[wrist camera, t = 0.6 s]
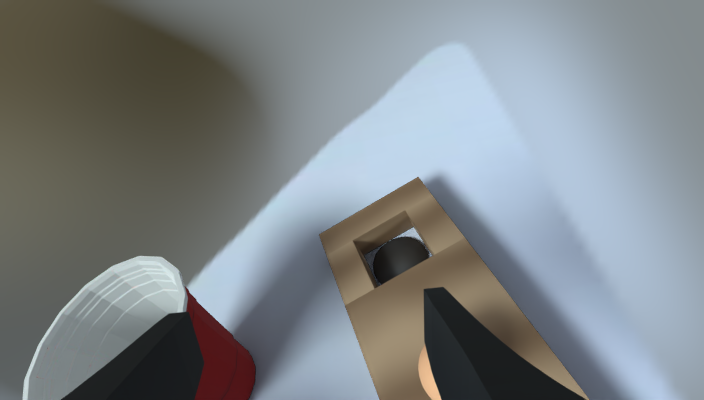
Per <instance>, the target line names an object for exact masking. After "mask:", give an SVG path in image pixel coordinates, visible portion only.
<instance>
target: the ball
mask: <svg viewBox="0 0 704 400" xmlns="http://www.w3.org/2000/svg"><path fill="white" fill-rule="evenodd" d="M418 371H419V377H420V380H421V383H422V386H423V388H424V390H425V391H426V393H427V394H428V396H429V397H430V398H431V399H432V400H442V399H441V397H440V394H439V391H438V388H437V386H436V383H435V380H434V377H433V374H432V371H431V367H430V363H429V359H428V355H427V351H426V346H425V345H424V347H423V349H422V351H421V353H420V357H419V363H418Z"/></svg>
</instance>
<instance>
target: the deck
mask: <svg viewBox="0 0 704 400" xmlns="http://www.w3.org/2000/svg"><path fill="white" fill-rule="evenodd" d="M412 227H414V228H415V230H416V231H417V233H418V234H419V236H420V237H421V239H422V240H423V242H424V244H425V245H426V247H427V248H428V250H429V251H430V253H431V254H432V256H431V257H430V258H428V255H427V252H426V250H425V248H424V246H423V245H422V244H421V243H420V242H418V241H417V240H415V239H412V238H408V237H401V238H396V239H393V238H395V237H397V236H398V235H400V234H402V233H404V232H405V231H407V230H409V229H411V228H412ZM319 236H320V239H321V242H322V245H323V247H324V250H325V253H326V255H327V258H328V261H329V264H330V266H331V269H332V272H333V274H334V277H335V280H336V283H337V285H338V288H339V291H340V293H341V296H342V299H343V302H344V304H345V307H346V310H347V312H348V315H349V318H350V321H351V323H352V326H353V329H354V331H355V334H356V337H357V340H358V342H359V345H360V348H361V350H362V353H363V356H364V359H365V361H366V364H367V367H368V369H369V372H370V375H371V378H372V380H373V383H374V386H375V388H376V391H377V394H378V397H379V399H380V400H432V399H431V398H430V397H429V396H428V394H427V393H426V391H425V390H424V388H423V386H422V383H421V380H420V377H419V371H418V363H419V357H420V353H421V351H422V349H423V347H424V345H425V342H424V289H427V288H437V287H444V288H445V289H446V290H447V291H448V292H449V293H450V294H451V295H452V296H453V297H454V298H455V299H456V300H457V301H458V302H459V303H460V304H461V305H462V306H463V307H464V308H466V309H467V310H468V311H469V312H470V313H471V314H472V315H473V316H474V317H475V318H476V319H477V320H478V321H479V322H480V323H481V324H483V325H484V326H485V327H486V328H487V329H488V330H489V331H490V332H492V333H493V334H494V335H495V336H496V337H497V338H499V339H500V340H501V341H502V342H503V343H505V344H506V345H507V346H508V347H509V348H511V349H512V350H513V351H514V352H516V353H517V354H518V355H520V356H521V357H522V358H524V359H525V360H526V361H528V362H529V363H530V364H532V365H533V366H535V367H536V368H538V369H539V370H541V371H542V372H544V373H545V374H546V375H548V376H549V377H551V378H552V379H554V380H555V381H557V382H559V383H560V384H562V385H563V386H565V387H566V388H568V389H570V390H571V391H573V392H575V393H577V394H578V395H580V396H582V397H583V398H585V399H587V400H589V398H588V397H587V396H586V394H585V393H584V392H583V390H582V389H581V388H580V387H579V385H578V384H577V383H576V381H575V380H574V379H573V377H572V376H571V375H570V374H569V372H568V371H567V370H566V368H565V367H564V366H563V364H562V363H561V362H560V361H559V359H558V358H557V357H556V355H555V354H554V353H553V351H552V350H551V349H550V348H549V346H548V345H547V344H546V342H545V341H544V340H543V338H542V337H541V336H540V335H539V333H538V332H537V331H536V329H535V328H534V327H533V325H532V324H531V323H530V322H529V320H528V319H527V318H526V316H525V315H524V314H523V312H522V311H521V310H520V309H519V307H518V306H517V305H516V303H515V302H514V301H513V299H512V298H511V297H510V296H509V294H508V293H507V292H506V290H505V289H504V288H503V286H502V285H501V284H500V283H499V281H498V280H497V279H496V277H495V276H494V275H493V273H492V272H491V271H490V270H489V268H488V267H487V266H486V264H485V263H484V262H483V260H482V259H481V258H480V257H479V255H478V254H477V253H476V251H475V250H474V249H473V247H472V246H471V245H470V244H469V242H468V241H467V240H466V238H465V237H464V236H463V234H462V233H461V232H460V231H459V229H458V228H457V227H456V225H455V224H454V223H453V221H452V220H451V219H450V218H449V216H448V215H447V214H446V212H445V211H444V210H443V208H442V207H441V206H440V205H439V203H438V202H437V201H436V199H435V198H434V197H433V195H432V194H431V193H430V192H429V190H428V189H427V188H426V186H425V185H424V184H423V182H422V181H421V180H420V179H419V177H417V178H415V179H414V180H412V181H410V182H408V183H407V184H405V185H403V186H402V187H400V188H398V189H396V190H395V191H393V192H391V193H390V194H388V195H386V196H384V197H383V198H381V199H379V200H378V201H376V202H374V203H372V204H371V205H369V206H367V207H365V208H364V209H362V210H360V211H359V212H357V213H355V214H353V215H352V216H350V217H348V218H347V219H345V220H343V221H341V222H340V223H338V224H336V225H335V226H333V227H331V228H329V229H328V230H326V231H324V232H323V233H321V234H319ZM391 239H393V240H391ZM390 240H391V241H390ZM388 241H389V242H388ZM386 242H387V243H386ZM384 243H386V244H384ZM383 244H384V245H383ZM381 245H383V246H382V247H381V248H380V250H379V251H378V252H377V254H376V256H375V259H374V264H373V268H374V273H375V275H376V277H377V279H378V280H379V281H380V282H381V283H382V285H380V286H379V287H378V285H377V283H376V280H375V278H374V276H373V274H372V272H371V270H370V268H369V265H368V263H367V261H366V259H365V257H364V255H365V254H367V253H369V252H370V251H372V250H374V249H376V248H377V247H379V246H381Z"/></svg>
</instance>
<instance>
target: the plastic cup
mask: <svg viewBox="0 0 704 400" xmlns="http://www.w3.org/2000/svg"><path fill="white" fill-rule="evenodd" d="M179 312H189V314H190V317H191V320H192V324H193V327H194V330H195V333H196V337H197V340H198V343H199V346H200V350H201V353H202V356H203V359H204V362H205V363H204V367H203V371H202V375H201V379H200V382H199V386H198V389H197V393H196V396H195V399H194V400H248V399H249V397H250V395H251V392H252V389H253V386H254V383H255V364H254V362H253V359H252V356H251V355H250V354H249V351H248V350H246V349H245V348H244V347H243V346H242V345H241V344H240V343H239V342H237V341H236V340H235V339H234V338H233V335H232V334H231V333H230V332H229V331H227V330H226V329H225V328H224V327H223V326H222V325H221V324H220V323H219V322H218V321H217V320H216V319H215V318H214V317H213V316H211V315H210V314H209V313H208V312H207V311H206V310H205V309H204V308H203V307H202V306H201V305H200V304H199V303H198V302H197V301H196V299H195V298H194V297H193V296H192V295H191V294H190V293H189V290H188V289H187V288H186V287H185V286H184V283H183V279H182V276H181V273H180V272H179V270H178V269H177V268H175V267H174V266H172V264H170V263H169V262H168V261H166V260H165V259H163V258H162V257H151V256H138V257H135V258H132V259H130V260H127V261H124V262H122V263H119V264H117V265H114V266H112V267H110V268H109V269H108V270H106V271H105V272H103V273H102V274H101V275H99V276H98V277H96V278H95V279H93V280H92V281H91V282H89V283H88V284H86V285H85V286H84V287H83V288H82V289H81V290H80V292H79V293H78V294H77V295H76V296H75V297H74V298H73V299H72V300H71V301H70V302H69V303H68V304H67V305H66V306H65V307H64V308H63V309H62V310H61V311H60V313H59V314H58V316H57V317H56V319H55V320H54V322H53V323H52V325H51V326H50V328H49V330H48V331H47V333H46V334H45V336H44V337H43V339H42V340H41V342H40V343H39V345H38V347H37V350H36V353H35V355H34V357H33V360H32V362H31V365H30V368H29V370H28V373H27V375H26V378H25V380H24V390H23V400H61V399H62V398H63V397H65V396H66V395H68V394H69V393H70V392H72V391H73V390H74V389H75V388H77V387H78V386H79V385H81V384H82V383H83V382H84V381H86V380H87V379H88V378H90V377H91V376H92V375H93V374H95V373H96V372H97V371H99V370H100V369H101V368H102V367H104V366H105V365H106V364H107V363H109V362H110V361H111V360H112V359H114V358H115V357H116V356H117V355H118V354H120V353H121V352H122V351H123V350H124V349H126V348H127V347H128V346H129V345H130V344H132V343H133V342H134V341H135V340H136V339H138V338H139V337H140V336H141V335H142V334H144V333H145V332H146V331H147V330H148V329H150V328H151V327H152V326H153V325H155V324H156V323H157V322H158V321H159V320H161V319H162V318H163V317H165V316H166V315H167V314H169V313H179Z"/></svg>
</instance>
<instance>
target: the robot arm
mask: <svg viewBox="0 0 704 400" xmlns="http://www.w3.org/2000/svg"><path fill="white" fill-rule="evenodd" d="M424 342H425V346H426V351H427V355H428V359H429V363H430V367H431V371H432V374H433V377H434V380H435V383H436V386H437V388H438V391H439V394H440V397H441V399H442V400H587V399H585V398H583V397H582V396H580V395H578V394H577V393H575V392H573V391H571V390H570V389H568V388H566V387H565V386H563V385H562V384H560V383H559V382H557V381H555V380H554V379H552V378H551V377H549V376H548V375H546V374H545V373H544V372H542V371H541V370H539V369H538V368H536V367H535V366H533V365H532V364H530V363H529V362H528V361H526V360H525V359H524V358H522V357H521V356H520V355H518V354H517V353H516V352H514V351H513V350H512V349H511V348H509V347H508V346H507V345H506V344H505V343H503V342H502V341H501V340H500V339H499V338H497V337H496V336H495V335H494V334H493V333H492V332H490V331H489V330H488V329H487V328H486V327H485V326H484V325H483V324H481V323H480V322H479V321H478V320H477V319H476V318H475V317H474V316H473V315H472V314H471V313H470V312H469V311H468V310H467V309H466V308H464V307H463V306H462V305H461V304H460V303H459V302H458V301H457V300H456V299H455V298H454V297H453V296H452V295H451V294H450V293H449V292H448V291H447V290H446V289H445V288H444V287H437V288H427V289H424ZM204 363H205V362H204V359H203V356H202V353H201V350H200V346H199V343H198V340H197V337H196V333H195V330H194V327H193V324H192V320H191V317H190V314H189V312H179V313H169V314H167V315H166V316H165V317H163V318H162V319H161V320H159V321H158V322H157V323H156V324H155V325H153V326H152V327H151V328H150V329H148V330H147V331H146V332H145V333H144V334H142V335H141V336H140V337H139V338H138V339H136V340H135V341H134V342H133V343H132V344H130V345H129V346H128V347H127V348H126V349H124V350H123V351H122V352H121V353H120V354H118V355H117V356H116V357H115V358H114V359H112V360H111V361H110V362H109V363H107V364H106V365H105V366H104V367H102V368H101V369H100V370H99V371H97V372H96V373H95V374H93V375H92V376H91V377H90V378H88V379H87V380H86V381H84V382H83V383H82V384H81V385H79V386H78V387H77V388H75V389H74V390H73V391H72V392H70V393H69V394H68V395H66V396H65V397H63V398H62V399H61V400H194V399H195V396H196V393H197V389H198V386H199V382H200V379H201V375H202V371H203V367H204Z"/></svg>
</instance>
